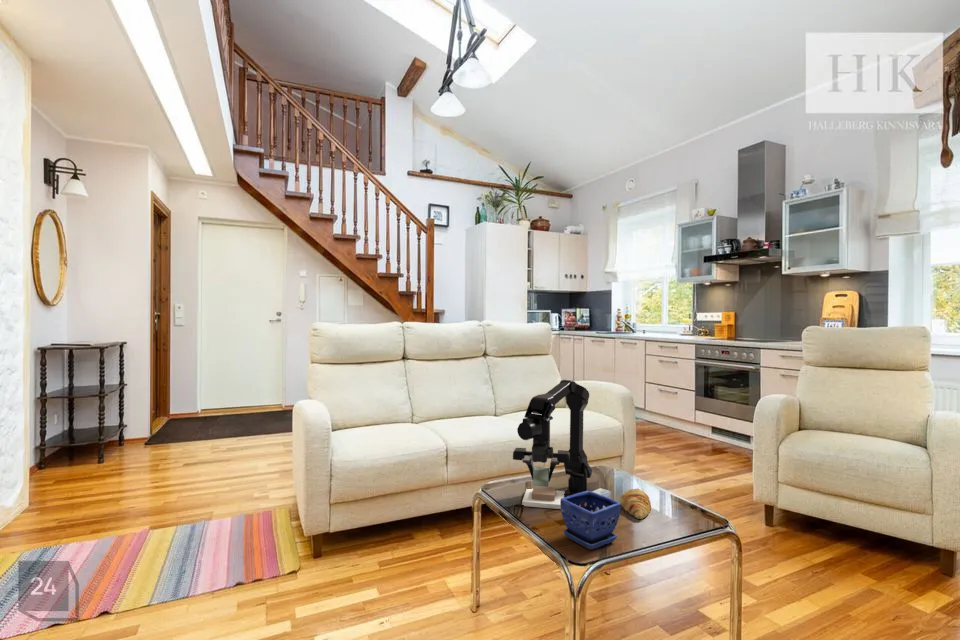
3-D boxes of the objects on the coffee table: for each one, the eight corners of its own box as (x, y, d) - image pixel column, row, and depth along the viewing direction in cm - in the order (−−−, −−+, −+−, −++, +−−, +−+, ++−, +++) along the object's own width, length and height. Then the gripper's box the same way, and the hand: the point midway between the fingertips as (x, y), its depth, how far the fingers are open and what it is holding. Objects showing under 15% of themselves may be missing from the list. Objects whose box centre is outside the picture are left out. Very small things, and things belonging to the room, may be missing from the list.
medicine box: (599, 513, 165) (599, 487, 165) (611, 517, 162) (611, 490, 162) (586, 519, 160) (586, 493, 160) (598, 524, 157) (598, 496, 157)
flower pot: (622, 543, 144) (623, 502, 143) (591, 555, 136) (592, 512, 136) (588, 527, 154) (588, 489, 154) (558, 537, 147) (558, 498, 147)
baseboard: (564, 495, 182) (564, 485, 182) (562, 509, 168) (562, 499, 168) (526, 492, 185) (527, 482, 185) (522, 505, 171) (522, 495, 171)
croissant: (649, 533, 158) (661, 512, 157) (620, 516, 160) (633, 496, 159) (638, 506, 179) (649, 488, 178) (613, 492, 180) (624, 474, 180)
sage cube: (549, 481, 167) (549, 467, 167) (548, 486, 162) (548, 471, 162) (534, 480, 168) (534, 466, 168) (533, 485, 163) (533, 470, 163)
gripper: (510, 438, 159) (510, 486, 159) (568, 441, 155) (568, 491, 155) (515, 430, 170) (515, 475, 170) (569, 433, 166) (569, 479, 166)
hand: (541, 480), depth 165 cm, fingers closed on sage cube, 5 cm apart
